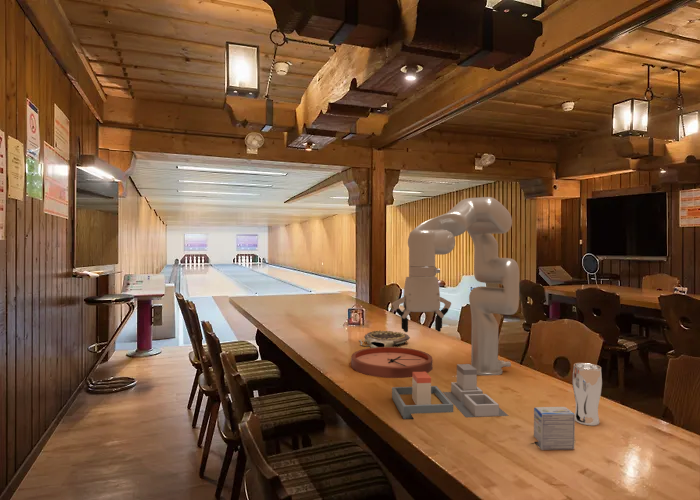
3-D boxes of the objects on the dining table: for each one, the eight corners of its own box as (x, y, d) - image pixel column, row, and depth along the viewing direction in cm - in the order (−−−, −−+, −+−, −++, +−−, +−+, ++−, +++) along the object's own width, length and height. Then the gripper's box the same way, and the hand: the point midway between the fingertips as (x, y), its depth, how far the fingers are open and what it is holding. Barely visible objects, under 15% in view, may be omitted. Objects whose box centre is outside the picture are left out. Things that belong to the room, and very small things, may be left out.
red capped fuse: (425, 401, 133) (425, 371, 133) (430, 409, 127) (431, 377, 127) (412, 401, 133) (412, 371, 133) (417, 409, 127) (417, 378, 127)
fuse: (469, 392, 138) (469, 364, 138) (476, 399, 132) (476, 369, 132) (456, 393, 138) (456, 364, 138) (463, 400, 132) (463, 369, 132)
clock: (351, 346, 189) (424, 346, 189) (351, 356, 189) (424, 356, 190) (351, 367, 158) (440, 367, 158) (351, 378, 158) (440, 379, 158)
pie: (358, 337, 227) (359, 327, 227) (412, 338, 226) (412, 328, 226) (358, 350, 199) (359, 339, 199) (420, 352, 198) (420, 341, 198)
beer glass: (575, 414, 125) (576, 361, 125) (603, 420, 121) (604, 365, 121) (569, 421, 120) (570, 366, 120) (598, 428, 115) (599, 371, 115)
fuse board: (479, 395, 140) (479, 381, 140) (508, 421, 120) (508, 404, 120) (442, 396, 139) (442, 382, 139) (465, 422, 119) (465, 406, 119)
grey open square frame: (436, 397, 139) (436, 385, 139) (453, 417, 123) (453, 404, 123) (391, 398, 137) (391, 387, 137) (403, 419, 121) (403, 406, 121)
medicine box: (565, 441, 108) (565, 406, 108) (575, 450, 104) (575, 413, 103) (533, 442, 108) (533, 406, 108) (541, 450, 103) (542, 413, 103)
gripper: (446, 271, 134) (446, 327, 135) (390, 271, 132) (390, 329, 133) (455, 273, 127) (454, 333, 127) (395, 273, 125) (395, 334, 125)
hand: (421, 331), depth 130 cm, fingers open, 9 cm apart
